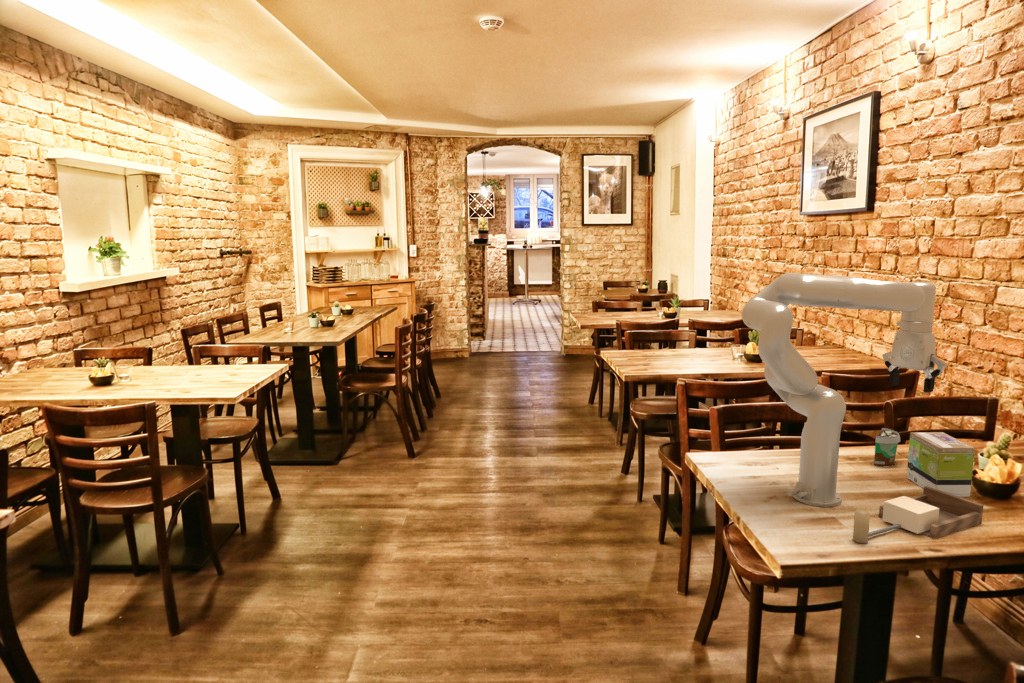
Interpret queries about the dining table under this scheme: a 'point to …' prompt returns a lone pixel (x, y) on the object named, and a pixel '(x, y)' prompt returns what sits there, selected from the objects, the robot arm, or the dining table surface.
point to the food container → (886, 447)
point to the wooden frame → (948, 512)
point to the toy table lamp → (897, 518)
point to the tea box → (940, 462)
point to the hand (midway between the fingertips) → (910, 388)
